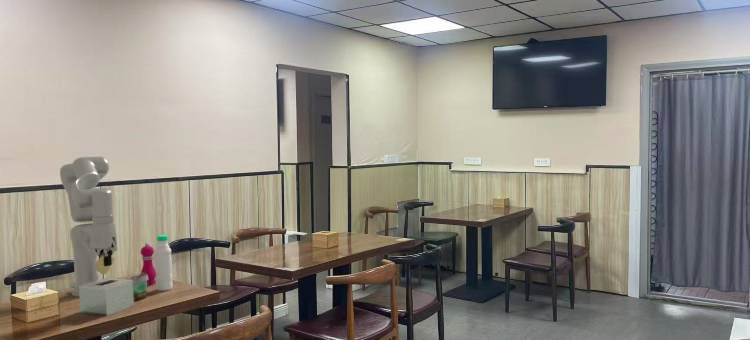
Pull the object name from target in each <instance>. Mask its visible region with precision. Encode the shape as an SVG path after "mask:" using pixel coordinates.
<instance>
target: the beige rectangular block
mask: <svg viewBox="0 0 750 340" xmlns="http://www.w3.org/2000/svg"><path fill="white" fill-rule="evenodd" d="M104 257H105V253H102V254H101V256H100V258H99V257H98V258H97V263H96V264H95V266H94V268H95V269H96V270H97V271H98V273H99V274H101V275H107V273H108V272H109V270H110V269H111V266H112V265H110V266H105V265H104ZM111 259H112V264H113V263H114V261H115V258H113V257H112V256H111Z"/></svg>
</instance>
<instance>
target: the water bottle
mask: <svg viewBox="0 0 750 340" xmlns="http://www.w3.org/2000/svg"><path fill="white" fill-rule="evenodd" d="M168 236H169V235H166V234H162V235H157V237H156V241H157V246H156V248H155V250H154V254H155V256H154V257H155V259H154V262H155V271H156V277H155V280H156V283H155V285H156V290H157V291H159V292H164V291H165V292H167V291H170V290H172V289H173V287H174V285H173V272H172V270H173V264H172V263H173V261H172V249H171V248H170V247H171V246H170V244H168V240H169V237H168Z"/></svg>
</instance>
